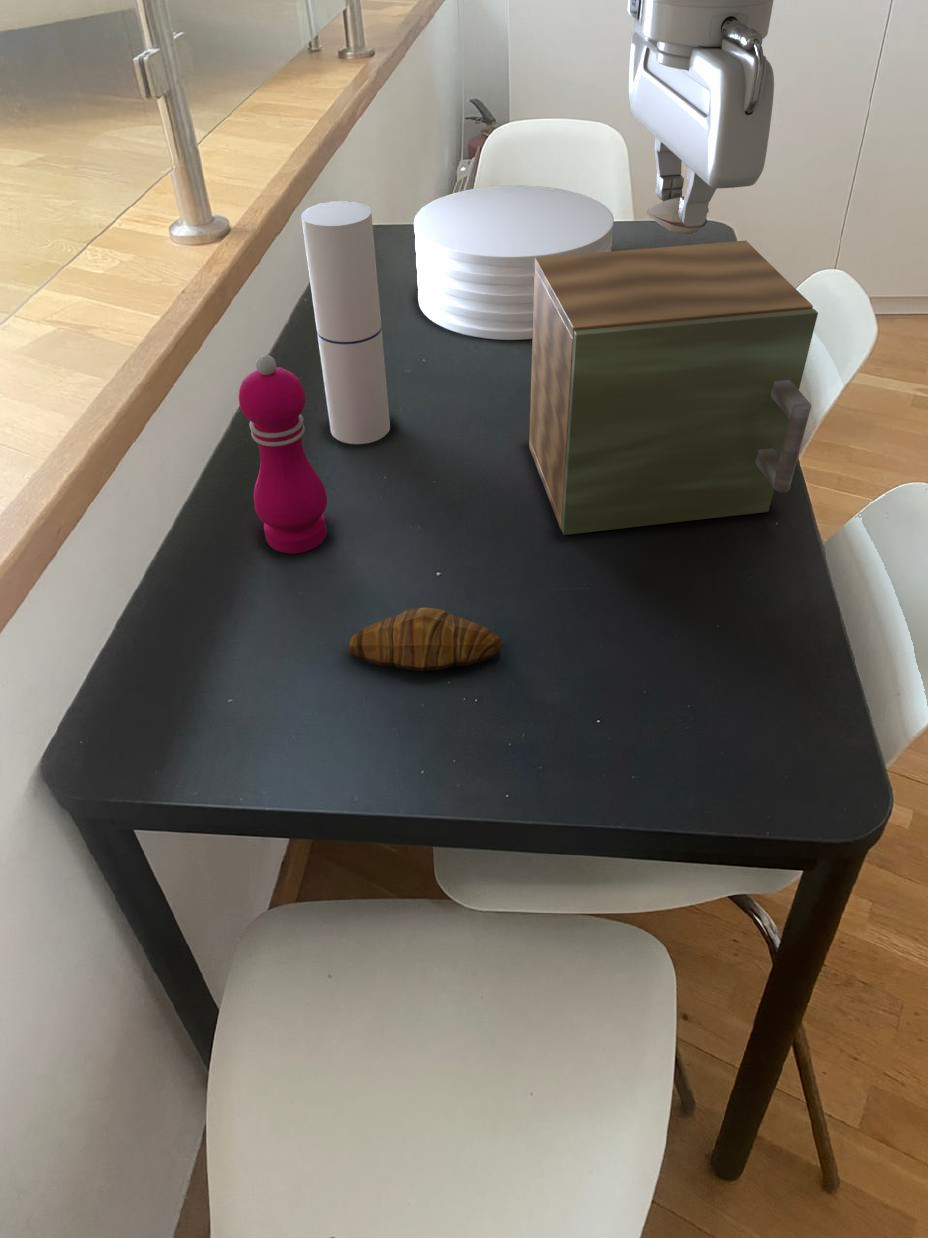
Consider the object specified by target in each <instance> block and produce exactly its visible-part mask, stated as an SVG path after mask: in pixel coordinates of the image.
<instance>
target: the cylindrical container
mask: <svg viewBox="0 0 928 1238" xmlns="http://www.w3.org/2000/svg"><path fill="white" fill-rule="evenodd" d="M372 215H373V214H372V209H371V207H369V206H368V205H367V204H364V203H361V202H357V201H349V200H348V201H347V200H337V201H336V200H335V201H334V200H333V201H328V202H327V201H326V202H321V203H316V204H314V205H312V206H311V205H310V206H309V207H307V208H306V209H304V210H303V211H302V212H301V213H300V218H301V225H302V226H301V227H302V233H303V240H304V241H303V242H304V247H305V255H306V262H307V269H308V277H309V284H310V290H311V299H312V305H313V311H314V319H315V320H314V321H315V326H316V327H315V328H316V334H317V341H318V349H319V356H320V357H319V358H320V364H321V371H322V378H323V385H324V393H325V400H326V406H327V407H326V408H327V415H328V421H329V429H330V433H331V435H332V437H333V438H334V439H336V440H337V441H339V442H341V443H344V444H349V445H364V444H370V443H374V442H377V441H380V440H381V439H383V438H384V437H385V436H386V435H388V434H389V432H390V430H391V422H390V421H391V420H390V411H389V397H388V388H387V387H388V385H387V375H386V363H385V353H384V351H385V350H384V340H383V328H382V317H381V307H380V306H381V305H380V296H379V295H380V294H379V293H380V292H379V284H378V283H379V282H378V271H377V261H376V248H375V238H374V237H375V236H374V226H373V217H372Z"/></svg>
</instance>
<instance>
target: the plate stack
mask: <svg viewBox="0 0 928 1238" xmlns="http://www.w3.org/2000/svg"><path fill="white" fill-rule="evenodd" d="M614 218H615V217H614V215H613V213H612V212H611V210H610V209H609V208H608V207H607V206H606V205H605V204H603V203H602V202H600V201H598V200H596V199H595V198H593V197H591V196H588V195H585V194H582V193H579V192H575V191H570V190H566V189H562V188H556V187H548V186H541V185H540V186H538V185H520V184H519V185H511V184H510V185H495V186H493V185H492V186H484V187H477V188H470V189H465V190H460V191H457V192H453V193H450V194H447V195H444V196H441V197H438V198H436V199H434V200H432V201H431V202H429V203H427V204H425V205H424V206H423V207H421V209H419V211H417V213H416V215H415V217H414V220H413V229H414V235H415V238H414V247H415V248H414V249H415V253H416V255H415V265H416V271H417V274H416V282H417V289H418V290H417V300H418V306H419V308H420V311H421V312H422V313H423V315H424V316H426V318H427V319H429V321H432V323H434V324H436V325H438V326H439V327H442V328H444V329H446V330H449V331H452V332H454V333H457V334H460V335H465V336H470V337H475V338H482V339H487V340H488V339H489V340H501V341H502V340H503V341H520V340H533V308H534V275H535V258H540V257H552V256H564V255H576V254H588V253H600V252H612V247H613V234H614V233H613V232H614V224H615V220H614Z"/></svg>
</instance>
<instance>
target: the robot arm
mask: <svg viewBox="0 0 928 1238" xmlns="http://www.w3.org/2000/svg"><path fill="white" fill-rule="evenodd" d="M773 6H774V0H627V13H628V16H629V17H630V18H631V19H633V20H634V21H633V24H632V26H631V31H630V43H629V58H628V59H629V60H628V61H629V62H628V87H627V88H628V89H627V90H628V91H627V92H628V102H629V109H630V114H631V116H632V117H633V118H634V119H635V120H637V121H638V122H639V123H640V124H641V125H642V126H643V127H644V128H645V129H646V130H647V131H649V132H650V134H652V135H653V136H654V147H653V149H654V160H655V168H656V182H655V183H656V184H655V190H654V191H655V195H656V196H657V197H658V198H659V200H661V202H664V201H666V200H669V199H673V198H676V197H680V203H679V211H678V218H679V219H680V220H681V221H682V223H683V224H684V225H686V226H687V227H691V226H701V225H703V224H704V223H705V221H706V219H707V216H708V213H707V211H708V209H709V204H710V202H711V200H712V198H713V197H714V195H715V193H716V191H717V189H733V188H734V189H735V188H743V187H751V186H754V185H755V184H756V183H757V181H758V180H759V179H760V177H761V175H762V173H763V171H764V168H765V164H766V157H767V152H768V145H769V137H770V131H771V123H772V115H773V105H774V96H775V95H774V93H775V77H774V76H775V74H774V70H773V67H772V65H771V62H770V61H769V60H768V59H767V57H766V55H765V54H764V49H763V46H762V45H763V40H765V38H766V37H767V36H768V34H769V29H770V24H771V17H772V11H773ZM682 163H684V164H685V165H686V166H687V173H686V178H687V180H688V184H687V188H686V191H685V193H684V196H685V197H682V196H683V188H684V183H685V178H684V176H683V175H682V165H683V164H682Z"/></svg>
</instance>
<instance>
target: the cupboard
mask: <svg viewBox="0 0 928 1238" xmlns="http://www.w3.org/2000/svg"><path fill="white" fill-rule="evenodd" d="M806 309H814V305H813V304H812V303H811V302H810V301H809V300H808V299H807V298H806V297H805V296H804V295H802V293H800V292H799V290H798V289H796V288H795V287H794V286H793V284H791V282H789V281H788V280H787V278H785V277H784V276H783V275H782V274H781V273H780V272H779V271H778V270H777V269H776V268H775V267H774V266H773V265H772V264H771V263H770V262H769V261H768V260H767V259H765V257H764V256H763V255H762V254H761V253H760V252H759V251H758V250H756V248H755V247H754V246H753V245H752V244H751V243H749V242H748V241H747V240H736V241H721V242H709V243H698V244H686V245H674V246H673V245H672V246H663V247H652V248H636V249H626V250H625V249H624V250H614V251H613V250H611V252H600V253H588V254H576V255H564V256H552V257H540V258H535V275H534V308H533V339H531V340H532V342H531V343H532V345H531V346H532V347H531V351H532V352H531V375H530V378H531V379H530V409H529V410H530V411H529V412H530V413H529V438H528V439H529V441H528V443H529V444H528V448H529V450H530V454H531V456H532V459H533V461H534V464H535V466H536V469H537V473H538V475H539V477H540V479H541V481H542V482H541V483H542V485H543V487H544V489H545V492H546V495H547V497H548V500H549V503H550V506H551V508H552V510H553V513H554V516H555V518H556V521H557V523H558V526H559V529H560V530H561V531H562V514H563V498H564V482H565V466H566V450H567V434H568V418H569V402H570V386H571V370H572V354H573V338H574V331H576V330H587V329H598V328H609V327H620V326H631V325H642V324H653V323H664V322H675V321H686V320H697V319H708V318H718V317H729V316H740V315H751V314H762V313H773V312H784V311H795V310H806Z"/></svg>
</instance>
